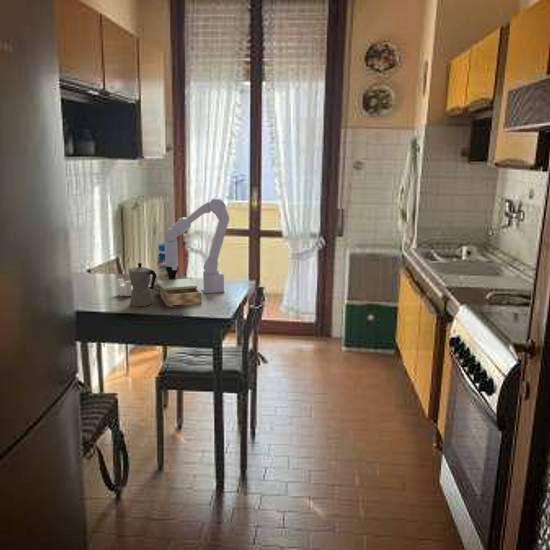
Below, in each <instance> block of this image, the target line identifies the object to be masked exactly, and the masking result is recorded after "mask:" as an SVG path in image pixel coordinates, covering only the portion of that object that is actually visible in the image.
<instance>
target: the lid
mask: <svg viewBox="0 0 550 550" xmlns="http://www.w3.org/2000/svg"><path fill="white" fill-rule="evenodd" d="M160 287H161V288H162V289H163V290H175V289H188V288H197V289H198V285H197V284H196V283H195V282H194V281H192V280H191V279H190V278H189V277H187V278H175V279H171V280H157V279H156V290H157V291H159V290H160V291H161V289H160Z"/></svg>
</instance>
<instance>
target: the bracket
mask: <svg viewBox="0 0 550 550" xmlns="http://www.w3.org/2000/svg"><path fill="white" fill-rule="evenodd" d="M148 287H151V285H148ZM132 289H133V286H132V285H131V281H130V280H126V281H125V280H124V278H119V279H117V296H119V295H120V296H119V297H131V293H132ZM148 289H149V288H148ZM149 290H150V293H151V292H152V289H149Z"/></svg>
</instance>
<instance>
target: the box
mask: <svg viewBox="0 0 550 550" xmlns="http://www.w3.org/2000/svg"><path fill="white" fill-rule="evenodd" d="M160 289H161V290H160V299H161V301H162V300H163V301H162V302H163V303H164V305H165V306H166V305H167V306H169V307H174V306H173V305H181V306H189V305H190V306H191V305H192V306H193V305H200V304H201V305H202V302H203V301H202V300H203V299H202V292H201V291H200V289H198V287H197V288H188V289H175V290H163V289H162V288H161V287H160ZM167 306H166V307H167Z"/></svg>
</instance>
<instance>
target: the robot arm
mask: <svg viewBox="0 0 550 550" xmlns="http://www.w3.org/2000/svg"><path fill="white" fill-rule="evenodd" d="M211 212H212V213H213V214H214V215H215V216H216V218H217V219H218V222H217V226H216V229H215V233H214V237H213V241H212V244H211V248H210V250H209V254H208V256H207V258H206V259H205V261H204V264H203V272H202V273H203V274H202V276H203V278H202V279H203V280H202V281H203V285H202V287H203V288H201V291H202V292H203V293H205V294H214V293H216V294H217V293H223V292H225V276H224V273H223V272H221V271H220V272H219V270H218V266H219V263H218V260H219V257H220V252H221V249H222V246H223V242H224V239H225V237H226V236H225V235H226V232H227V228H228V226H229V222H230V216H229V215H230V214H229V213H228V210H227V206H226V204H225V203H224V201H223V200H222V199H221V197H213V198H212V199H211V200H210V201H207V202H205V203H204V204H202V205H200V206H199V207H198V208H197V209H196V210H194V212H192V213H191V214H190V215H189V216H188V217H179V218H178V219H177V221H176V222H175V223H174V224H173V225H172V224H171V225H169V228H167V229H166V230H165V231H164V233H163V237H164V244H165V263H163V265H166V266H169V267H165V269H166V271H167V273H168V278H169V280H171V279H177V278H176V277H177V273H178V271H179V267H178V266H179V260H178V257H179V255H178V236H181V235H182V234H184V233H185V232H186V231H187V230H189V229H190V228H191V225H192V223H194V222H195V221H197V219H199V218H200V217H201V216H203V215H205V214H209V213H211Z"/></svg>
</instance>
